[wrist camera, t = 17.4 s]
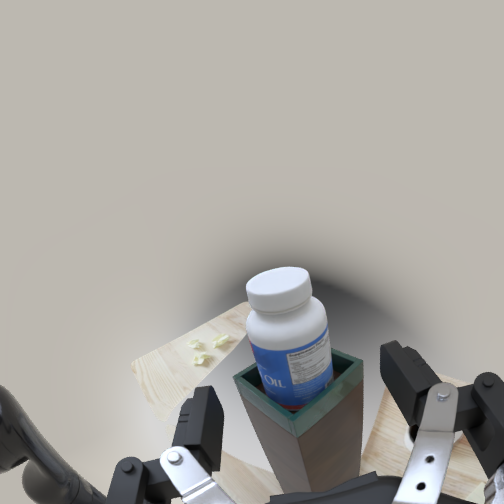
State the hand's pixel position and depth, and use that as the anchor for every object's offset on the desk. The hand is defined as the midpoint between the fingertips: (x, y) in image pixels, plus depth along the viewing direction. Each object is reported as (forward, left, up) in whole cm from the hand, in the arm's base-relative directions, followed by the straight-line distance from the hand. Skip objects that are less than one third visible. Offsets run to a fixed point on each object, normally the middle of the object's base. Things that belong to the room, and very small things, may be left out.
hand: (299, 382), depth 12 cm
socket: (+4, +6, -7) cm, 10 cm away
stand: (+4, +6, -34) cm, 35 cm away
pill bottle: (+4, +5, -7) cm, 10 cm away
